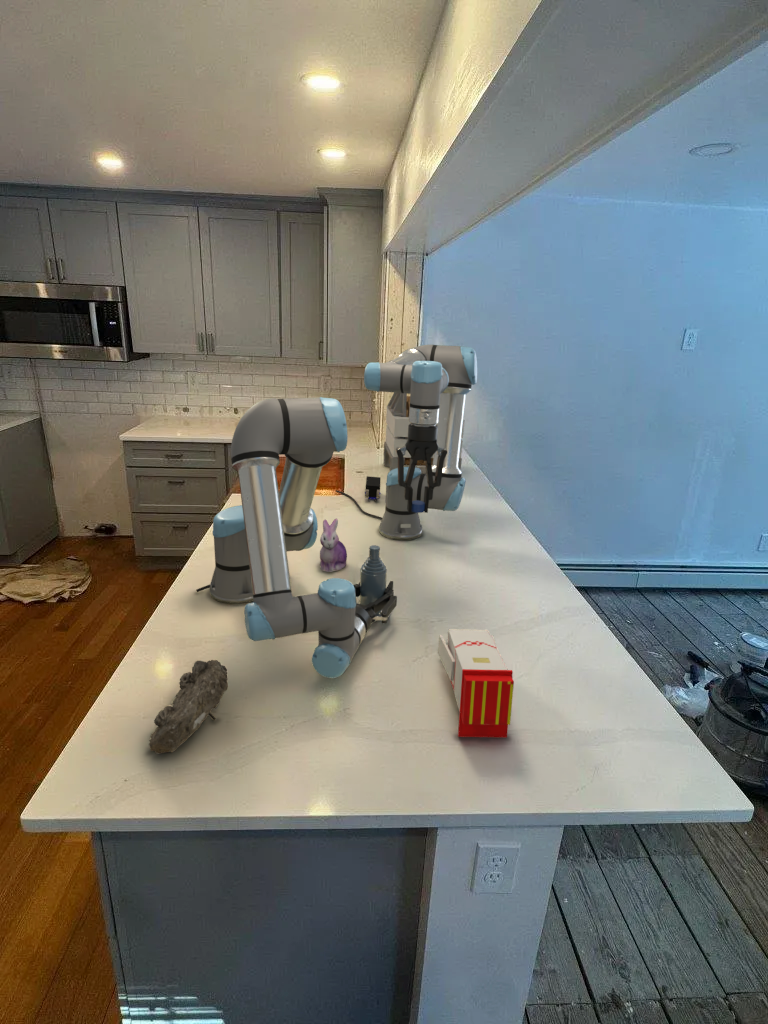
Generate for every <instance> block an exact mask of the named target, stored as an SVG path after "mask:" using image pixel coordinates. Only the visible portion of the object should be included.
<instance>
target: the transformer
mask: <svg viewBox="0 0 768 1024" xmlns="http://www.w3.org/2000/svg"><path fill="white" fill-rule="evenodd" d="M409 408H410V395H407V394H406V393H395V392H393V394H392V395H391V398H390V400H389V402H388V404H387V405H386V413H385V414H386V415H385V423H386V428H385V438H384V442H383V466H384V467H388V468H389V472H390V471H391V470H393V469H396V468H398V455H397V453H396V448H397V447H399V448H401V447H403V446H405V444H406V442H407V440H408V425H409V424H411V423H410V422H409ZM436 425H437V424H436ZM464 429H465V419H464V418H463V426H462V435H461V444H460V453H459V463H458V468H459V469H460V471H461V472H462V461H463V460H462V453H463V442H464V441H463V440H462V439H463V438H464V431H465V430H464ZM433 456H434V455H433ZM433 456H432V457H431V466H432V465H433ZM403 457H404V466H406V467H409V464H410V458H411V455H410V454H409V452H408V451H407V450H406V451H405V455H404V456H403ZM417 466H418V467H426V466H425V461H424V460H419V461H417V464H416V467H417Z"/></svg>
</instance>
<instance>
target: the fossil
mask: <svg viewBox="0 0 768 1024" xmlns="http://www.w3.org/2000/svg"><path fill="white" fill-rule="evenodd" d="M228 679H229V678H228V669H227V667H226V666H225V665H223V664H222V663H221V662H220V661H218V660H217V659H210V660H208V661H203V660H196V661H195V662H194V663H193V666H192V667H191V671H187V672H185V673H183V674H182V675H181V676H180V678H179V682H178V684H179V690H178V691H177V694H176V695H175V698H174V699H173V701H172V705H166V706H164V708H163V709H161V710H159V712H158V713H157V715H156V716H155V718H154V720H153V724H154V725H155V726H157V727H156V728H155V729H154V731H153V732H152V733H150V736H149V737H150V739H149V740H148V741H149V743H148V747H149V750H150V751H151V752H155V754H164V753H169V752H171V753H174V752H175V751H177V749H178V748H179V747H180V746H181V745H182V744H183V743H185V742H186V741H187V740H188V739H189V738H190V737H191V736H192V735H193V734H194V733H195V732H196V731H198V730H199V729H200V727H201V726H202V723H203V722H204V721H206V720H207V718H208V717H210V719H212V721H216V720H217V718H216V717H215V715H213V714H212V713H211V712H212V710H214V709H216V708H217V707H218V705H219V704H220V702H221V700H222V698H223V696H224V694H225V693H226V692H227V690H228V688H229V683H228Z"/></svg>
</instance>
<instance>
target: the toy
mask: <svg viewBox="0 0 768 1024" xmlns="http://www.w3.org/2000/svg"><path fill="white" fill-rule="evenodd" d="M446 640H447V643H446V641H445V639H444V636H443V635H442V634H439V637H438V646H437V656H438V657H439V659H440V661H441V663H442V666H443V668H444V670H445V672H446V674H447V677H448V679H449V681H450V684H451V687H452V690H453V693H454V697H455V701H456V705H457V708H458V711H459V714H458V715H459V716H458V730H457V731H458V732H457V737H458V738H508V731H509V726H510V725H511V717H512V707H513V697H514V696H513V695H514V684H515V680H514V679H513V673H514V671H513V670H512V669H508V667H507V665H506V662H505V661H504V659H503V658H502V655H501V653H500V651H499V649H498V647H497V643H496V639H495V637H494V635H493V634H491V632H490V631H489V629H467V628H466V629H465V628H463V629H461V628H460V629H459V628H448V630H447V639H446Z"/></svg>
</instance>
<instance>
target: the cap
mask: <svg viewBox="0 0 768 1024" xmlns="http://www.w3.org/2000/svg"><path fill="white" fill-rule="evenodd" d="M424 511H425V502H423V501H418V500H416V501H412V512H416V513H418V514H421V513H425V512H424Z"/></svg>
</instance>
